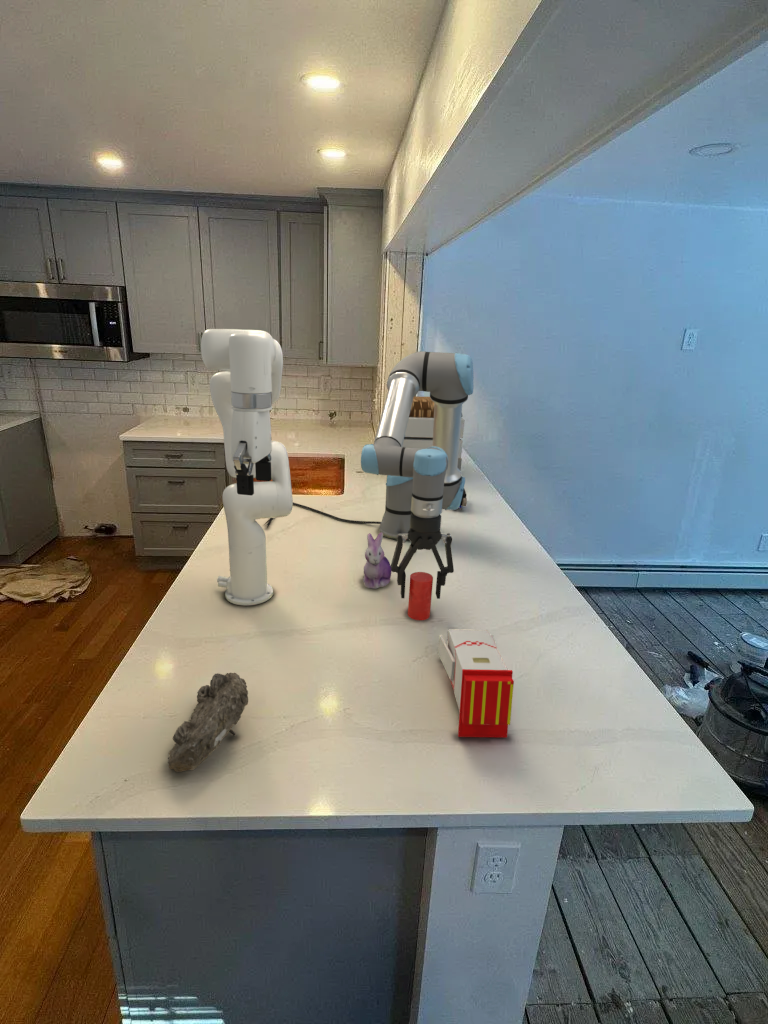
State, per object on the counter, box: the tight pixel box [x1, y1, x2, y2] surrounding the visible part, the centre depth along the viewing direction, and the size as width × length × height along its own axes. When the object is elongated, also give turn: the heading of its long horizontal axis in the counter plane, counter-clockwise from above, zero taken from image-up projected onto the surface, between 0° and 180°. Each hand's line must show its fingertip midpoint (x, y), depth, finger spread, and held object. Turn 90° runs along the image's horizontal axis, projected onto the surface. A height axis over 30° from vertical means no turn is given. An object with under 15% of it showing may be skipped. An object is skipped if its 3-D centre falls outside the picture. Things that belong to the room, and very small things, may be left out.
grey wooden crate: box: [402, 395, 465, 472], centre depth 268 cm, size 34×33×41 cm
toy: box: [437, 628, 515, 738], centre depth 117 cm, size 12×13×30 cm
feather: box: [263, 518, 274, 529], centre depth 211 cm, size 2×28×2 cm
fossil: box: [167, 672, 249, 773], centre depth 102 cm, size 22×10×15 cm
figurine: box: [362, 532, 392, 589], centre depth 161 cm, size 9×10×15 cm
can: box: [407, 571, 434, 621], centre depth 146 cm, size 6×6×11 cm
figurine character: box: [459, 488, 468, 511], centre depth 230 cm, size 7×8×15 cm
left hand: (255, 487), depth 113 cm, fingers open, 9 cm apart
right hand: (420, 595), depth 146 cm, fingers open, 8 cm apart
